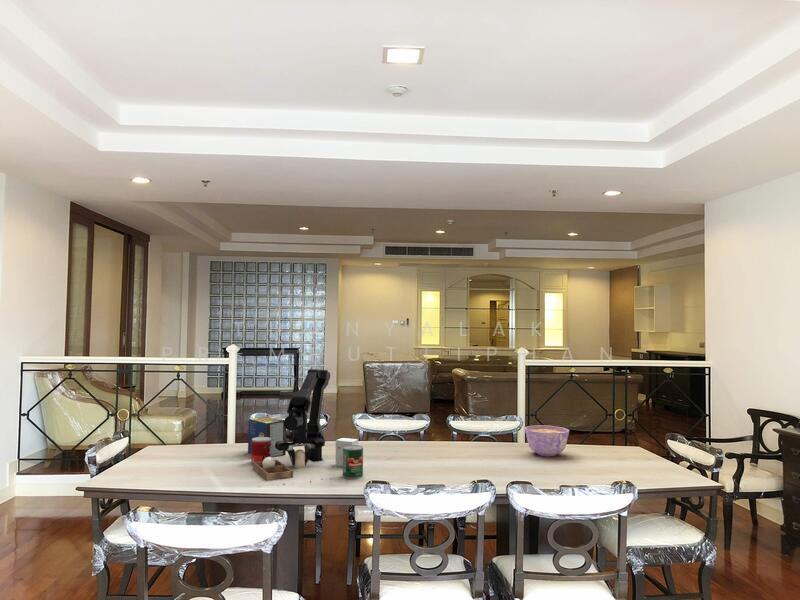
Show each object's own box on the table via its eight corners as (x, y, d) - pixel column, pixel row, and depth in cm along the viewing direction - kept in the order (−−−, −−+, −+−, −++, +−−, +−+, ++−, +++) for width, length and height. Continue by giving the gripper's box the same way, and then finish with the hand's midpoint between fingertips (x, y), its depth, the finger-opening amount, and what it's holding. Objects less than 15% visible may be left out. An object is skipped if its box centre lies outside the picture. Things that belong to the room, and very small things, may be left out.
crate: (277, 468, 224) (277, 459, 224) (292, 480, 207) (292, 471, 207) (252, 471, 219) (253, 462, 219) (266, 483, 202) (267, 474, 202)
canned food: (265, 468, 224) (266, 440, 225) (247, 467, 226) (248, 439, 227) (273, 464, 232) (274, 437, 233) (256, 462, 234) (256, 436, 234)
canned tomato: (352, 472, 220) (353, 444, 220) (367, 475, 215) (367, 447, 215) (338, 476, 214) (338, 447, 214) (352, 480, 209) (353, 450, 209)
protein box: (267, 449, 259) (267, 416, 260) (286, 455, 249) (286, 420, 250) (247, 453, 252) (248, 418, 253) (265, 458, 241) (266, 422, 242)
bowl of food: (575, 459, 245) (574, 433, 246) (529, 459, 246) (529, 432, 246) (562, 450, 265) (562, 425, 266) (520, 449, 266) (520, 425, 266)
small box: (358, 464, 232) (358, 439, 233) (351, 467, 227) (352, 441, 228) (341, 462, 236) (342, 437, 236) (335, 465, 231) (335, 439, 231)
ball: (273, 467, 221) (273, 455, 221) (276, 470, 216) (277, 457, 217) (260, 469, 218) (260, 456, 219) (264, 472, 214) (264, 459, 214)
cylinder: (302, 467, 227) (303, 447, 227) (306, 470, 223) (306, 450, 223) (291, 468, 224) (292, 448, 225) (295, 471, 220) (295, 451, 221)
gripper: (314, 421, 236) (314, 458, 235) (271, 425, 227) (270, 463, 226) (324, 425, 226) (323, 464, 225) (279, 429, 217) (278, 469, 216)
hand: (299, 465), depth 224 cm, fingers closed on cylinder, 5 cm apart
